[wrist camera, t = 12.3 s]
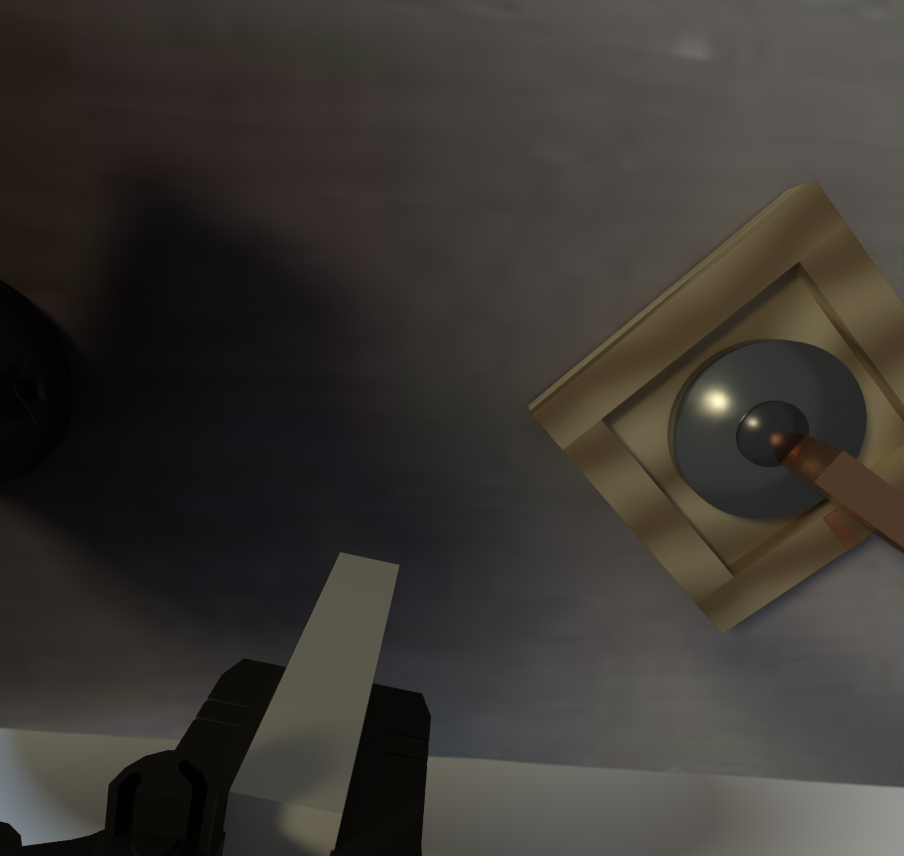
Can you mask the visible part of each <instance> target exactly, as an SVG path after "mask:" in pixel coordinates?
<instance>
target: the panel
mask: <svg viewBox="0 0 904 856" xmlns="http://www.w3.org/2000/svg"><path fill="white" fill-rule="evenodd" d="M763 338H775V339H783V340H791V341H797V342H804V343H807V344H811V345H814V346H817V347H819V348H821V349H824V350H826V351H828V352H829V353H831V354H832V355H834V356H835V357H837V358H838V359H839V360H840V361H841V362H843V363H844V364H845V365H846V366H847V367H848V369H849V370H850V371H851V372H852V374H853V375H854V377H855V378H856V380H857V382H858V383H859V385H860V388H861V390H862V393H863V396H864V400H865V405H866V414H867V423H866V433H865V438H864V442H863V445H862V448H861V451H860V454H859V456H858V458H857V461H859V462H860V463H861V464H863V465H864V466H865V467H867V468H868V469H869V470H871V471H872V472H874V473H875V474H876V475H878V476H879V477H880V478H882V479H883V480H884V481H886V482H887V483H888V484H890V485H891V486H892V487H894V488H895V489H896V490H898V491H899V492H900V493H902V494H903V495H904V306H903V304H902V303H901V301H900V300H899V298H898V297H897V296H896V294H895V293H894V291H893V290H892V288H891V287H890V286H889V284H888V283H887V281H886V280H885V278H884V277H883V276H882V274H881V273H880V271H879V270H878V268H877V267H876V266H875V264H874V263H873V261H872V260H871V258H870V257H869V256H868V254H867V253H866V251H865V250H864V248H863V247H862V245H861V244H860V243H859V241H858V240H857V238H856V237H855V235H854V234H853V233H852V231H851V230H850V228H849V227H848V225H847V224H846V223H845V221H844V220H843V218H842V217H841V215H840V214H839V213H838V211H837V210H836V208H835V207H834V205H833V204H832V203H831V201H830V200H829V198H828V197H827V195H826V194H825V193H824V191H823V190H822V188H821V187H820V185H819V184H818V182H817V181H816V180H815V181H812V182H809V183H806V184H803V185H800V186H797V187H794V188H791V189H788V190H787V191H785V192H784V193H783V194H782V195H781V196H779V197H778V198H777V199H776V200H775V201H773V202H772V203H771V204H770V205H769V206H767V207H766V208H765V209H764V210H762V211H761V212H760V213H759V214H758V215H756V216H755V217H754V218H753V219H752V220H750V221H749V222H748V223H747V224H746V225H744V226H743V227H742V228H741V229H740V230H738V231H737V232H736V233H735V234H734V235H732V236H731V237H730V238H729V239H728V240H726V241H725V242H724V243H723V244H722V245H720V246H719V247H718V248H717V249H716V250H714V251H713V252H712V253H711V254H710V255H708V256H707V257H706V258H705V259H704V260H702V261H701V262H700V263H699V264H698V265H696V266H695V267H694V268H693V269H692V270H690V271H689V272H688V273H687V274H686V275H684V276H683V277H682V278H681V279H679V280H678V281H677V282H676V283H675V284H673V285H672V286H671V287H670V288H669V289H667V290H666V291H665V292H664V293H663V294H661V295H660V296H659V297H658V298H657V299H655V300H654V301H653V302H652V303H651V304H649V305H648V306H647V307H646V308H645V309H643V310H642V311H641V312H640V313H639V314H637V315H636V316H635V317H634V318H633V319H631V320H630V321H629V322H628V323H627V324H625V325H624V326H623V327H622V328H621V329H619V330H618V331H617V332H616V333H615V334H613V335H612V336H611V337H610V338H609V339H607V340H606V341H605V342H604V343H603V344H601V345H600V346H599V347H598V348H597V349H595V350H594V351H593V352H592V353H590V354H589V355H588V356H587V357H586V358H584V359H583V360H582V361H581V362H580V363H578V364H577V365H576V366H575V367H574V368H572V369H571V370H570V371H569V372H568V373H566V374H565V375H564V376H563V377H562V378H560V379H559V380H558V381H557V382H556V383H554V384H553V385H552V386H551V387H550V388H548V389H547V390H546V391H545V392H544V393H542V394H541V395H540V396H539V397H538V398H536V399H535V400H534V401H533V402H532V403H530V404H529V405H528V407H529V409H530V412H531V414H532V415H533V416H534V418H535V419H536V420H537V421H538V422H539V423H540V424H541V426H542V427H543V428H544V429H545V430H546V431H547V433H548V434H549V435H550V436H551V437H552V438H553V439H554V441H555V442H556V443H557V444H558V445H559V446H560V448H561V449H562V450H563V451H564V452H565V453H566V454H567V456H568V457H569V458H570V459H571V460H572V461H573V463H574V464H575V465H576V466H577V467H578V468H579V469H580V471H581V472H582V473H583V474H584V475H585V476H586V478H587V479H588V480H589V481H590V482H591V483H592V484H593V486H594V487H595V488H596V489H597V490H598V491H599V492H600V494H601V495H602V496H603V497H604V498H605V499H606V501H607V502H608V503H609V504H610V505H611V506H612V507H613V509H614V510H615V511H616V512H617V513H618V514H619V516H620V517H621V518H622V519H623V520H624V521H625V522H626V524H627V525H628V526H629V527H630V528H631V529H632V531H633V532H634V533H635V534H636V535H637V536H638V537H639V539H640V540H641V541H642V542H643V543H644V544H645V546H646V547H647V548H648V549H649V550H650V551H651V552H652V554H653V555H654V556H655V557H656V558H657V559H658V560H659V562H660V563H661V564H662V565H663V566H664V567H665V569H666V570H667V571H668V572H669V573H670V574H671V575H672V577H673V578H674V579H675V580H676V581H677V582H678V584H679V585H680V586H681V587H682V588H683V589H684V590H685V592H686V593H687V594H688V595H689V596H690V597H691V599H692V600H693V601H694V602H695V603H696V604H697V605H698V607H699V608H700V609H701V610H702V611H703V612H704V614H705V615H706V616H707V617H708V618H709V619H710V620H711V622H712V623H713V624H714V625H715V626H716V627H717V629H718V630H719V631H720V632H721V633H722V634H723V633H725V632H726V631H728V630H729V629H731V628H732V627H734V626H735V625H737V624H738V623H740V622H741V621H743V620H744V619H746V618H747V617H749V616H750V615H752V614H753V613H755V612H756V611H758V610H759V609H760V608H762V607H763V606H765V605H766V604H768V603H769V602H771V601H772V600H774V599H775V598H777V597H778V596H780V595H781V594H783V593H784V592H786V591H787V590H789V589H790V588H792V587H793V586H795V585H796V584H798V583H799V582H801V581H802V580H804V579H805V578H807V577H808V576H810V575H811V574H813V573H814V572H816V571H817V570H819V569H820V568H822V567H823V566H825V565H826V564H828V563H829V562H831V561H832V560H834V559H835V558H837V557H838V556H840V555H841V554H843V553H844V552H846V551H847V550H850V549H852V548H853V547H855V546H856V545H858V544H859V543H861V542H862V540H864V539H865V538H867V537H868V536H870V535H871V534H873V533H874V532H872V531H871V530H870V529H868V528H867V527H865V526H864V525H863V524H861V523H860V522H859V521H857V520H856V519H854V518H853V517H852V516H850V515H849V514H848V513H846V512H845V511H843V510H842V509H841V508H839V507H838V506H837V505H835V504H834V503H833V502H831V501H830V500H828V499H827V498H826V497H824V498H823V499H821V500H820V501H818V502H817V503H815V504H813V505H811V506H810V507H808V508H805V509H803V510H801V511H799V512H796V513H793V514H790V515H787V516H782V517H777V518H770V519H749V518H742V517H737V516H734V515H730V514H727V513H725V512H723V511H720V510H718V509H716V508H715V507H713V506H712V505H710V504H708V503H707V502H706V501H705V500H703V499H702V498H701V497H700V496H699V495H697V494H696V493H695V492H694V491H693V490H692V489H691V488H690V487H689V486H688V485H687V484H686V483H685V482H684V481H683V479H682V478H681V477H680V475H679V474H678V472H677V470H676V468H675V466H674V464H673V462H672V459H671V456H670V453H669V447H668V441H667V428H668V419H669V415H670V411H671V408H672V405H673V403H674V400H675V398H676V396H677V394H678V392H679V390H680V388H681V387H682V385H683V384H684V382H685V381H686V380H687V378H688V377H689V376H690V375H691V374H692V373H693V371H694V370H695V369H696V368H697V367H698V366H700V365H701V364H702V363H703V362H704V361H705V360H707V359H708V358H710V357H711V356H713V355H714V354H716V353H717V352H719V351H721V350H723V349H725V348H727V347H729V346H732V345H735V344H737V343H740V342H744V341H749V340H753V339H763Z"/></svg>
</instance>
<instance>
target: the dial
mask: <svg viewBox="0 0 904 856" xmlns="http://www.w3.org/2000/svg"><path fill="white" fill-rule="evenodd" d="M866 423H867V414H866V405H865V400H864V396H863V393H862V390H861V388H860V385H859V383H858V382H857V380H856V378H855V377H854V375H853V374H852V372H851V371H850V370H849V369H848V367H847V366H846V365H845V364H844V363H843V362H841V361H840V360H839V359H838V358H837V357H835V356H834V355H832V354H831V353H829V352H828V351H826V350H824V349H821V348H819V347H817V346H814V345H811V344H807V343H804V342H797V341H791V340H783V339H775V338H763V339H753V340H749V341H744V342H740V343H737V344H735V345H732V346H729V347H727V348H725V349H723V350H721V351H719V352H717V353H716V354H714V355H713V356H711V357H710V358H708V359H707V360H705V361H704V362H703V363H702V364H701V365H700V366H698V367H697V368H696V369H695V370H694V371H693V373H692V374H691V375H690V376H689V377H688V378H687V380H686V381H685V382H684V384H683V385H682V387H681V388H680V390H679V392H678V394H677V396H676V398H675V400H674V403H673V405H672V408H671V411H670V415H669V419H668V428H667V441H668V447H669V453H670V456H671V459H672V462H673V464H674V466H675V468H676V470H677V472H678V474H679V475H680V477H681V478H682V479H683V481H684V482H685V483H686V484H687V485H688V486H689V487H690V488H691V489H692V490H693V491H694V492H695V493H696V494H697V495H699V496H700V497H701V498H702V499H703V500H705V501H706V502H707V503H708V504H710V505H712V506H713V507H715V508H716V509H718V510H720V511H723V512H725V513H727V514H730V515H734V516H737V517H742V518H749V519H770V518H777V517H782V516H787V515H790V514H793V513H796V512H799V511H801V510H803V509H805V508H808V507H810V506H811V505H813V504H815V503H817V502H818V501H820V500H821V499H823V498H824V497H826V498H827V499H828V500H830V501H831V502H833V503H834V504H835V505H837V506H838V507H839V508H841V509H842V510H843V511H845V512H846V513H848V514H849V515H850V516H852V517H853V518H854V519H856V520H857V521H859V522H860V523H861V524H863V525H864V526H865V527H867V528H868V529H870V530H871V531H872V532H874V533H875V534H876V535H878V536H879V537H880V538H882V539H883V540H885V541H886V542H887V543H889V544H890V545H891V546H893V547H895V548H896V549H898V550H899V551H901V552H903V553H904V495H903V494H902V493H900V492H899V491H898V490H896V489H895V488H894V487H892V486H891V485H890V484H888V483H887V482H886V481H884V480H883V479H882V478H880V477H879V476H878V475H876V474H875V473H874V472H872V471H871V470H869V469H868V468H867V467H865V466H864V465H863V464H861V463H860V462H859V461H857V458H858V456H859V454H860V451H861V448H862V445H863V442H864V438H865V433H866Z"/></svg>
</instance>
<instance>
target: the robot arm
mask: <svg viewBox="0 0 904 856" xmlns="http://www.w3.org/2000/svg"><path fill="white" fill-rule="evenodd" d="M69 408H70V385H69V378H68V372H67V368H66V364H65V361H64V358H63V355H62V353H61V350H60V348H59V346H58V344H57V342H56V340H55V338H54V336H53V334H52V333H51V331H50V329H49V328H48V326H47V325H46V323H45V322H44V321H43V319H42V318H41V317H40V315H39V314H38V313H37V312H36V311H35V310H34V308H33V307H32V306H31V305H30V304H29V303H28V302H27V301H26V300H24V299H23V298H22V297H21V296H20V295H19V294H18V293H16V292H15V291H14V290H12V289H11V288H10V287H8V286H7V285H5V284H4V283H2V282H1V281H0V483H1V482H3V481H6V480H8V479H11V478H13V477H16V476H19V475H21V474H23V473H26V472H27V471H29V470H31V469H33V468H34V467H36V466H37V465H39V464H40V463H41V462H42V461H43V460H44V459H46V458H47V457H48V456H49V454H50V453H51V452H52V451H53V450H54V448H55V447H56V445H57V444H58V442H59V440H60V438H61V436H62V434H63V432H64V429H65V427H66V423H67V420H68V415H69ZM398 570H399V565H397V564H392V563H388V562H383V561H379V560H374V559H369V558H365V557H360V556H356V555H351V554H346V553H342V552H340V554H339V556H338V558H337V560H336V563H335V565H334V567H333V569H332V571H331V573H330V576H329V578H328V580H327V582H326V584H325V586H324V588H323V591H322V593H321V595H320V597H319V599H318V601H317V603H316V606H315V608H314V610H313V612H312V614H311V616H310V619H309V621H308V623H307V625H306V627H305V629H304V631H303V634H302V636H301V638H300V640H299V642H298V644H297V646H296V649H295V651H294V653H293V655H292V657H291V659H290V662H289V664H288V666H287V667H283V666H278V665H274V664H269V663H264V662H259V661H254V660H250V659H245V658H244V659H243V660H241V661H240V662H239V663H237V664H236V665H234V666H233V667H232V668H230V669H229V670H228V671H226V672H225V673H224V674H222V675H221V677H220V679H219V680H218V682H217V683H216V685H215V687H214V688H213V690H212V692H211V693H210V695H209V696H208V699H207V701H205V703H204V704H203V706H202V708H201V709H200V711H199V712H198V714H197V716H196V719H195V720H193V722H192V724H191V725H190V727H189V728H188V730H187V732H186V733H185V735H184V736H183V738H182V740H181V741H180V743H179V744H178V746H177V748H176V749H175V750H166V751H163V752H159V753H155V754H152V755H147V756H145V757H143V758H141V759H139V760H138V761H136V762H134V763H132V764H131V765H129V766H127V767H126V768H124V769H123V770H122V772H120V773H119V775H118V776H117V777H116V778H115V779H114V780H113V781H112V782H111V783H110V784H109V788H108V799H107V812H106V823H105V829H104V830H102V831H99V832H97V833H95V834H92V835H90V836H85V837H81V838H77V839H72V840H65V841H58V842H50V843H43V844H36V845H27V846H22V842H21V835H20V834H19V833H18V832H17V831H16V830H15V829H14V828H13V827H12V826H11V825H10V824H8V823H4V822H0V856H422V851H421V841H422V827H423V814H424V801H425V800H424V799H425V787H426V773H427V760H428V747H429V745H428V743H429V734H430V721H431V715H430V713H429V710H428V708H427V705H426V702H425V700H424V697H423V695H422V694H421V693H417V692H412V691H407V690H402V689H397V688H393V687H388V686H383V685H378V684H373V679H374V675H375V670H376V666H377V662H378V657H379V653H380V649H381V644H382V640H383V635H384V631H385V627H386V622H387V618H388V613H389V609H390V605H391V600H392V596H393V592H394V587H395V583H396V578H397V574H398Z"/></svg>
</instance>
